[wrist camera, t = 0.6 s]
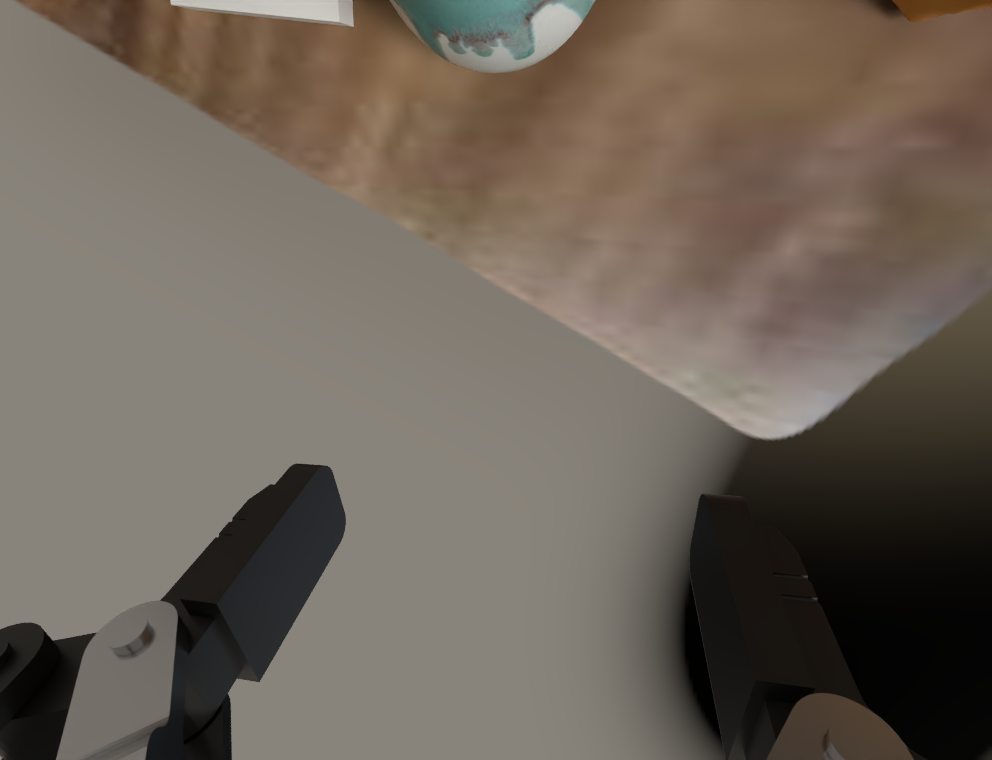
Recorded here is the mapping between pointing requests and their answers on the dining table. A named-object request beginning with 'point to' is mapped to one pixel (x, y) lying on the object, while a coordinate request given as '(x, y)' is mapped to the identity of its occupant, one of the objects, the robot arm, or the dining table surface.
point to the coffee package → (938, 7)
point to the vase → (493, 29)
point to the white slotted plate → (279, 9)
